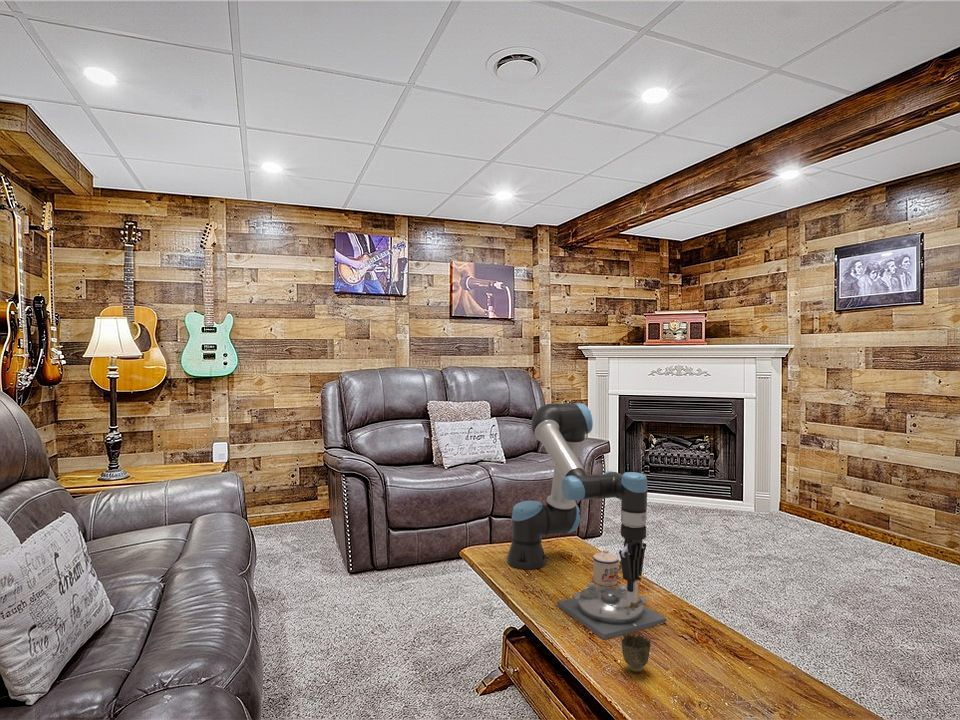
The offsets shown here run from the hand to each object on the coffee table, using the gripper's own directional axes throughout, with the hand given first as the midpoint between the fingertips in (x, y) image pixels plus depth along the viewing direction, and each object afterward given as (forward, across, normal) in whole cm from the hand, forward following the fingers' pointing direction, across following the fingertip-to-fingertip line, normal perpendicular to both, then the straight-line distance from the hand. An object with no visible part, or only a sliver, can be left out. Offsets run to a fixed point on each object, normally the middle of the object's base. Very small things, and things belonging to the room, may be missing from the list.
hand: (631, 600), depth 173 cm
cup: (+8, -22, -14) cm, 27 cm away
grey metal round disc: (+5, +1, +8) cm, 10 cm away
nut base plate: (+7, +1, +8) cm, 11 cm away
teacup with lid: (+7, +23, +22) cm, 33 cm away
